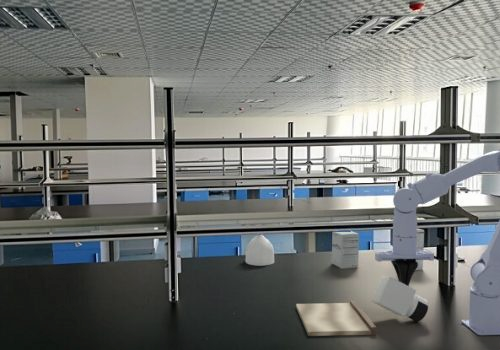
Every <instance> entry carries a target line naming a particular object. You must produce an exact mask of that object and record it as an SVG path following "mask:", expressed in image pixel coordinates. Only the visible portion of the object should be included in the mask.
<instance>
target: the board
mask: <svg viewBox="0 0 500 350" xmlns="http://www.w3.org/2000/svg"><path fill="white" fill-rule="evenodd" d="M295 305H296V306H295V307H296V311H297V312H298V315H299V317H300V319H301V322H302V324H303V326H304V329H305V331H306V334H307V336H308V337H319V336H320V337H322V336H326V337H327V336H328V337H329V336H364V335H365V336H369V335H370V336H372V335H377V326H376V325H375V324H374V322H373V321H372V320H371V319H370V317H369V316H368V315H367V313H365V311H364V309H362V307H360V305H359V304H358V303H357V301H356V300H355V299H350V300H349V302H332V303H327V302H325V303H321V302H320V303H296V304H295Z"/></svg>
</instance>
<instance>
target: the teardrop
mask: <svg viewBox="0 0 500 350" xmlns="http://www.w3.org/2000/svg"><path fill="white" fill-rule="evenodd" d="M245 263H246V264H248V265H251V266H263V267H264V266H269V265H273V264H274V263H275V250H274V246H273V244H272V243H271V241H269V239H268V238H266V237H265V236H264V235H263V234H262V235H259V236H257V235H255V237H253V238H251V240H250V241H249V243H248V244H247V245H246V248H245Z"/></svg>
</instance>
